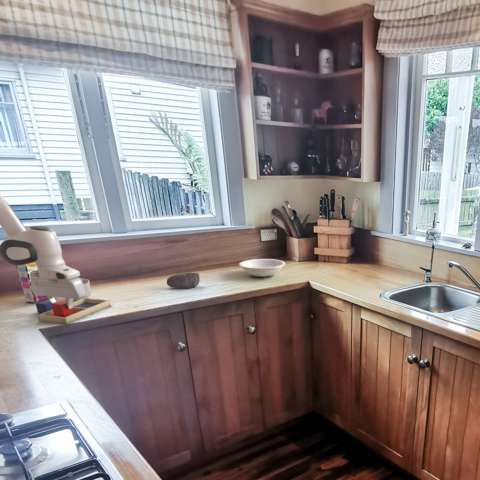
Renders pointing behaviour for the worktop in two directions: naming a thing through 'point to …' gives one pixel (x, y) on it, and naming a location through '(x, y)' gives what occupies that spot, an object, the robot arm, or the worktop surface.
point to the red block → (61, 308)
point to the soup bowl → (262, 267)
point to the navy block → (43, 306)
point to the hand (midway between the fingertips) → (62, 307)
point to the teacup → (87, 289)
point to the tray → (76, 311)
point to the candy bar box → (28, 282)
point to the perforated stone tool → (183, 280)
